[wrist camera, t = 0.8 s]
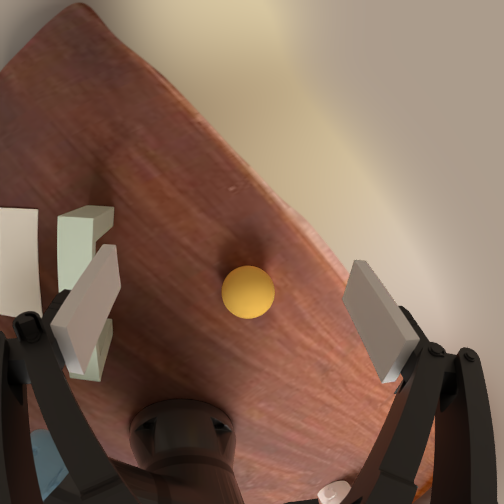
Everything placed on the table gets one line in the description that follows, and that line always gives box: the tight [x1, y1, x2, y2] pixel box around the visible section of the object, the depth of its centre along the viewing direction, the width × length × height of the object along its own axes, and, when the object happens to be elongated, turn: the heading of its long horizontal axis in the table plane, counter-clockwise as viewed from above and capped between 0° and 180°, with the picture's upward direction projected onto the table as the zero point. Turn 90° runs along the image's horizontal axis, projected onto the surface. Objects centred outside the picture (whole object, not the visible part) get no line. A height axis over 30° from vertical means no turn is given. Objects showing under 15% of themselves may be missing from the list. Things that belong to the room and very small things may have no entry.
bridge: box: [57, 205, 114, 382], centre depth 26 cm, size 3×14×9 cm, turn 172°
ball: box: [222, 266, 275, 319], centre depth 32 cm, size 6×6×6 cm
